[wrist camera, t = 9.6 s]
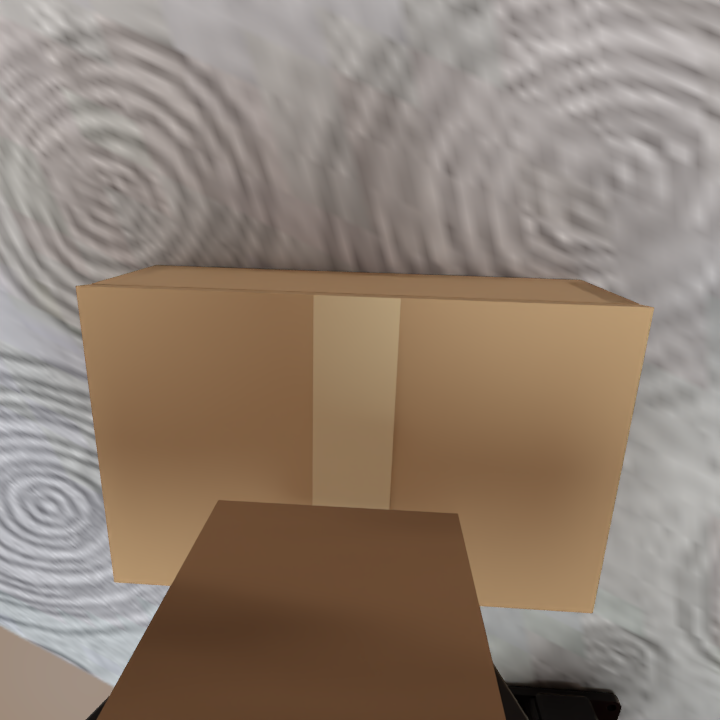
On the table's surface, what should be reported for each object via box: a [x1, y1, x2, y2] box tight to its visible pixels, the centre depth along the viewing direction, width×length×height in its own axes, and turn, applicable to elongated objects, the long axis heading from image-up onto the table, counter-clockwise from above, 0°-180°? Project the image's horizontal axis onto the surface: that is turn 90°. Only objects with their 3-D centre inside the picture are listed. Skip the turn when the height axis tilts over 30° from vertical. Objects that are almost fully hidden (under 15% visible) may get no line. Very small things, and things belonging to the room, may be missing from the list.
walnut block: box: [97, 500, 506, 720], centre depth 7 cm, size 4×4×4 cm
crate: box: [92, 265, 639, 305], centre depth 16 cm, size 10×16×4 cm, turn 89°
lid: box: [76, 284, 654, 613], centre depth 14 cm, size 10×16×1 cm, turn 89°
